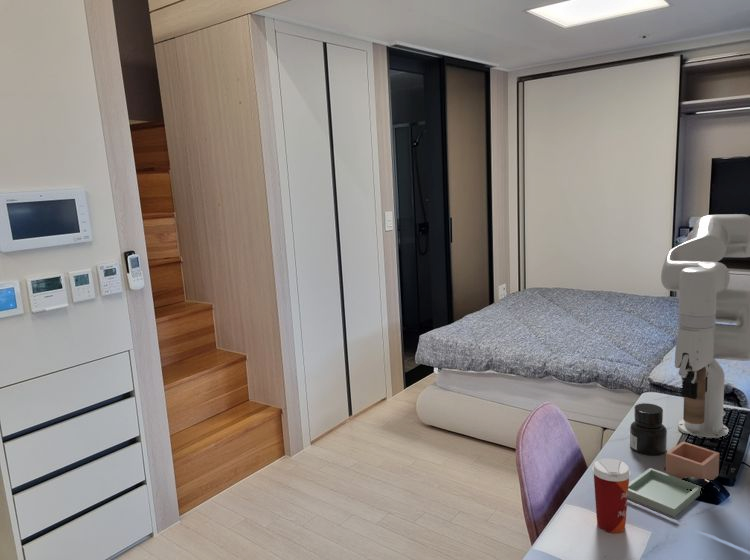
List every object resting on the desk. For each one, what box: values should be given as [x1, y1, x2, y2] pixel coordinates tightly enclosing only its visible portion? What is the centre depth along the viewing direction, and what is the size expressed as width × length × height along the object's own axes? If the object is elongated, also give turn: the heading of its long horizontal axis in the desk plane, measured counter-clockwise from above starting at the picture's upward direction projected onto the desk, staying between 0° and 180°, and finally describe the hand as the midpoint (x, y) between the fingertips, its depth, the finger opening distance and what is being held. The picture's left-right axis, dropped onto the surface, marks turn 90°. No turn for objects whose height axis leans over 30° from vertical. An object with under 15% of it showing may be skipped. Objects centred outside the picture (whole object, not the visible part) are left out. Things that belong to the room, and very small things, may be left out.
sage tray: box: [627, 467, 702, 520], centre depth 132 cm, size 13×12×2 cm
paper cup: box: [591, 458, 632, 534], centre depth 122 cm, size 8×8×14 cm
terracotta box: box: [665, 441, 720, 481], centre depth 138 cm, size 9×9×6 cm
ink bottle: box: [629, 402, 668, 457], centre depth 152 cm, size 10×9×12 cm
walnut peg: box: [682, 366, 706, 424], centre depth 135 cm, size 4×4×13 cm
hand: (694, 393), depth 135 cm, fingers closed on walnut peg, 4 cm apart
